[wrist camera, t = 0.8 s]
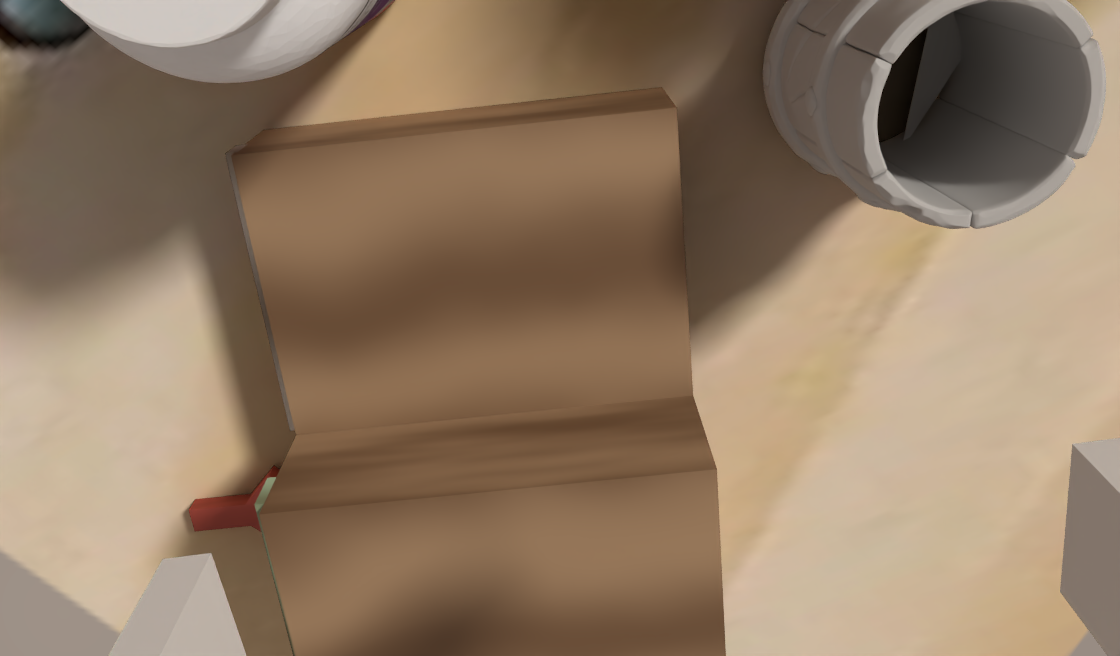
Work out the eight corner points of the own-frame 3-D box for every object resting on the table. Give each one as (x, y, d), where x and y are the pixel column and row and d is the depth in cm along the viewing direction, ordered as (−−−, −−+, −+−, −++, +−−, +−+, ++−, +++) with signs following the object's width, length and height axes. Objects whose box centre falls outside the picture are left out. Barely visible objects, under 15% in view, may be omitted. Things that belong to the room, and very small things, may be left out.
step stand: (94, 148, 35) (-44, 220, 27) (661, 87, 34) (701, 141, 26) (226, 608, 42) (150, 777, 34) (691, 563, 42) (729, 722, 34)
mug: (716, 123, 35) (799, 218, 24) (879, -231, 31) (1070, -315, 20) (905, 200, 36) (1067, 325, 25) (1086, -130, 32) (1375, -155, 21)
